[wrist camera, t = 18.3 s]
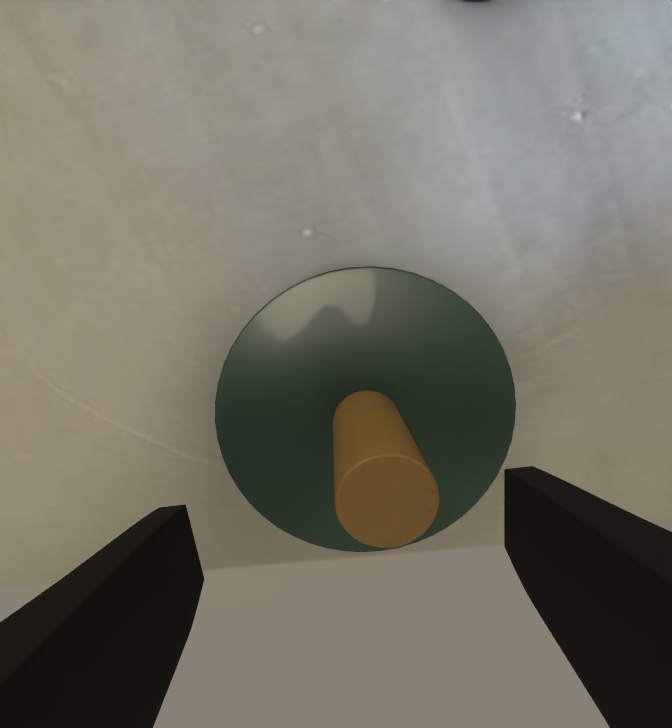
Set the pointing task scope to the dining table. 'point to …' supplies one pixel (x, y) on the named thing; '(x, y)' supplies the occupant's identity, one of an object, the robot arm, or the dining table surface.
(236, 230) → the dining table surface
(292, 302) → the lid
